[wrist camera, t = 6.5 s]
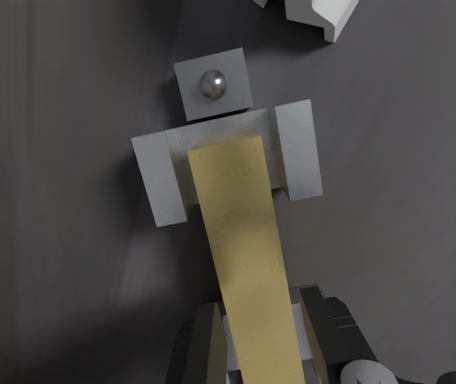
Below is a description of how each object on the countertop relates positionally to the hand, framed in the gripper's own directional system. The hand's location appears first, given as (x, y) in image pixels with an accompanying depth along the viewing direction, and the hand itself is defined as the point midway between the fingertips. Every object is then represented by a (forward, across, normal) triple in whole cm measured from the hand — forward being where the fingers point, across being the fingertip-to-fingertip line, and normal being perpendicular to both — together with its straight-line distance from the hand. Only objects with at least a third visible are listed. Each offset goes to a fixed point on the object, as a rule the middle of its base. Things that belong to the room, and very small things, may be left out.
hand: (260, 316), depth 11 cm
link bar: (+5, 0, 0) cm, 5 cm away
